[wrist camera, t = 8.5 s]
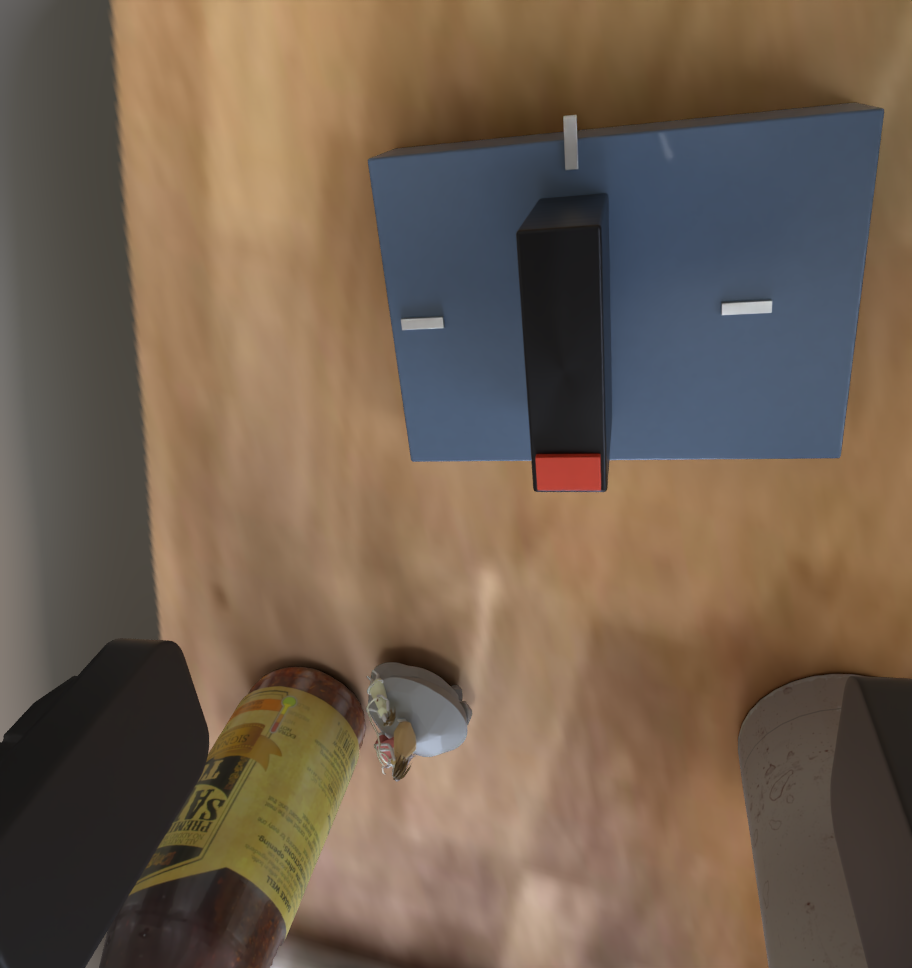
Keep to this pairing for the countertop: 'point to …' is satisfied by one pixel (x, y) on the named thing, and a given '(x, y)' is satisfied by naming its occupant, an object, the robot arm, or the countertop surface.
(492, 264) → the rotary switch base
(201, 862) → the sauce bottle
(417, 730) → the figurine
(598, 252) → the black and red block
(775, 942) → the thermos bottle
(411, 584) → the countertop surface
